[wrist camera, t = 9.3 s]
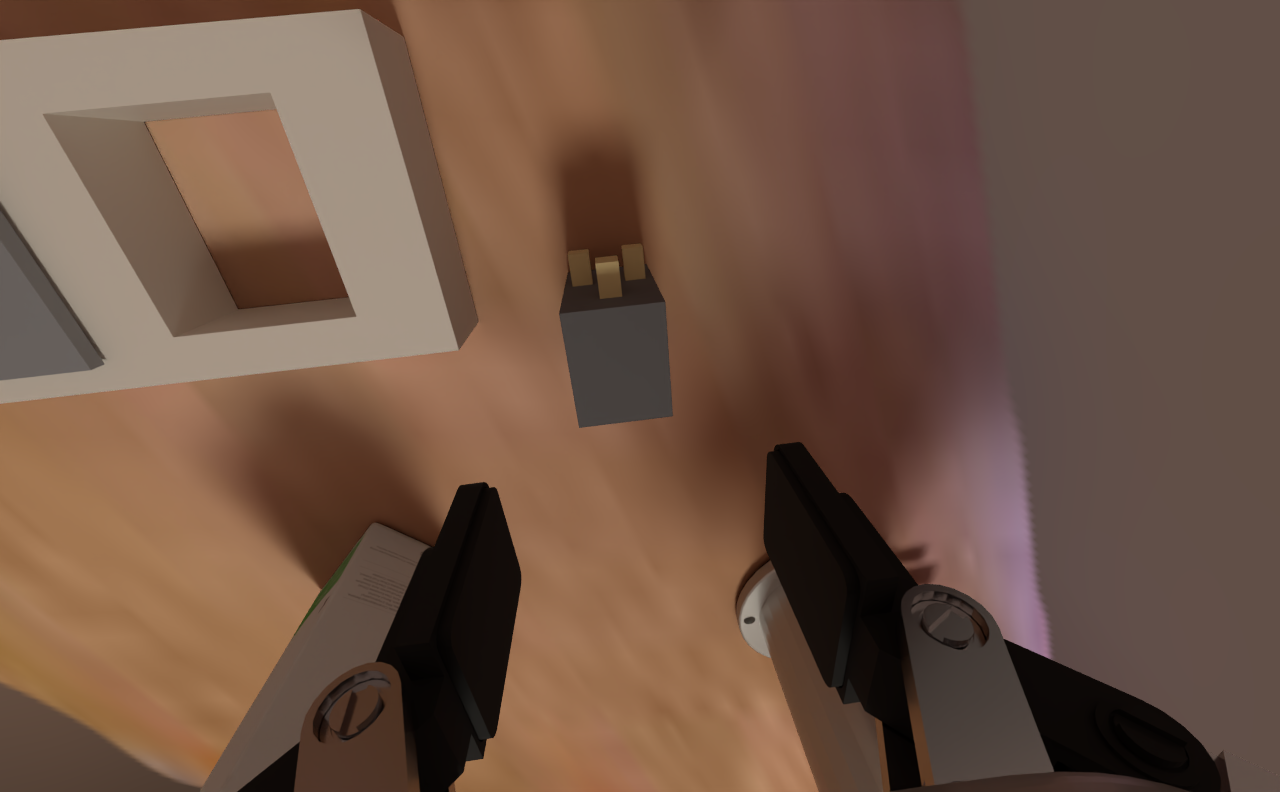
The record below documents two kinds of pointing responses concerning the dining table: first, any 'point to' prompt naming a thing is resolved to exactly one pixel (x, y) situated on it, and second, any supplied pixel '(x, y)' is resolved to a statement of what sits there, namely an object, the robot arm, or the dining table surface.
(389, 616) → the skincare box
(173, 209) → the socket block
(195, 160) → the dining table surface
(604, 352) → the plug
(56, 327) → the shutter
